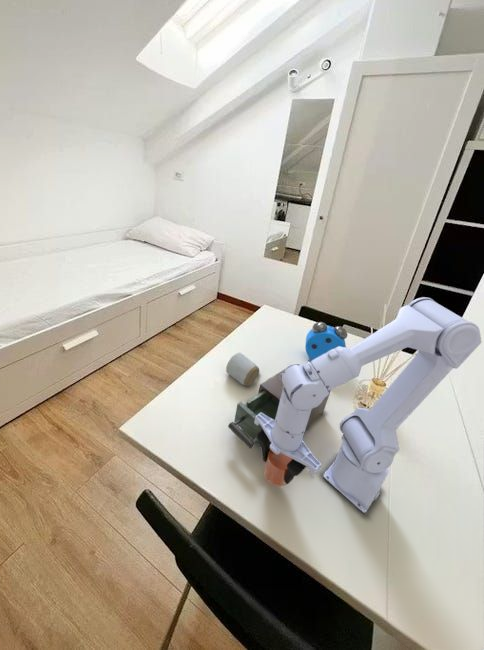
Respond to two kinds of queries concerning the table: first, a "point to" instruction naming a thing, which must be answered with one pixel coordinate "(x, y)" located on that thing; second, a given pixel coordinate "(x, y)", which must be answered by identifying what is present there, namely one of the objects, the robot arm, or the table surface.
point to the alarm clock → (324, 339)
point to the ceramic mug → (242, 369)
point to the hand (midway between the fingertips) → (277, 468)
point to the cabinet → (275, 390)
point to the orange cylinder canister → (276, 468)
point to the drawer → (253, 417)
